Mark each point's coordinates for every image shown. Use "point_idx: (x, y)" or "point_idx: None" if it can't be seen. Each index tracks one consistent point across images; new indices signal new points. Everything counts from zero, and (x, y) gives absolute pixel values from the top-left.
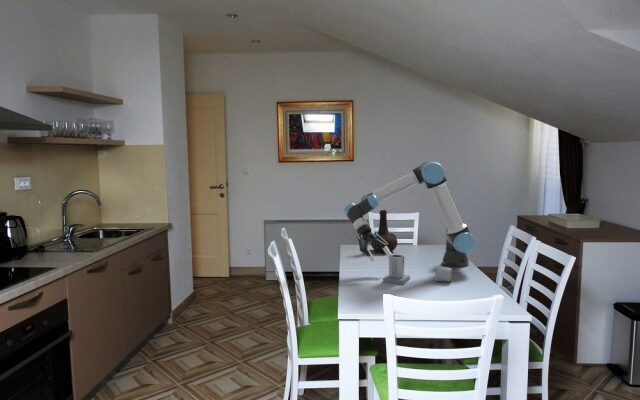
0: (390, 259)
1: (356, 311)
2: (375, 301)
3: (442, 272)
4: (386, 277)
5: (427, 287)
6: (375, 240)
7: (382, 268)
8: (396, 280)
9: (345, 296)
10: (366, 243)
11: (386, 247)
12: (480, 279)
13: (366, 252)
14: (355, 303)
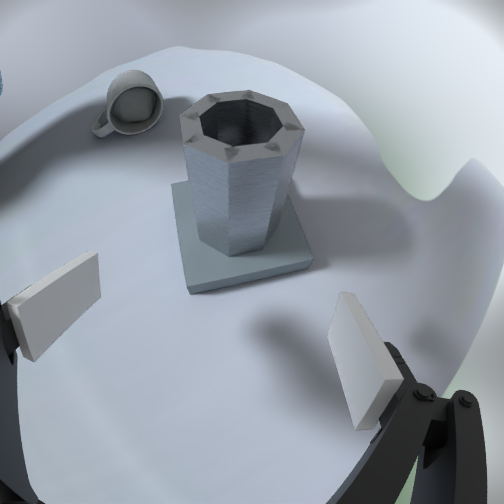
0: (291, 158)
1: (501, 190)
2: (456, 182)
3: (154, 83)
4: (284, 253)
5: None
6: (6, 464)
7: (59, 418)
8: (287, 195)
9: (499, 266)
10: (387, 487)
11: (30, 295)
12: (85, 89)
13: (408, 376)
14: (494, 214)
